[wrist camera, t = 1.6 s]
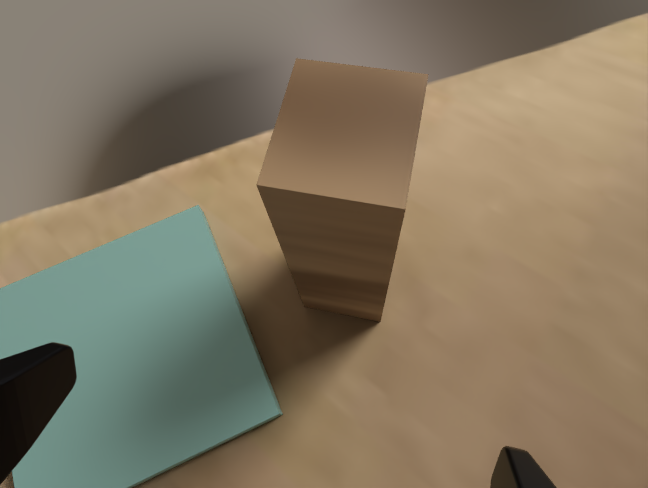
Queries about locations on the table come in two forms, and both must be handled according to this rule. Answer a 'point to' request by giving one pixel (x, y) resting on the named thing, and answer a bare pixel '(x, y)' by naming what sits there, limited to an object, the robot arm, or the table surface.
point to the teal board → (139, 357)
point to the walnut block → (342, 180)
